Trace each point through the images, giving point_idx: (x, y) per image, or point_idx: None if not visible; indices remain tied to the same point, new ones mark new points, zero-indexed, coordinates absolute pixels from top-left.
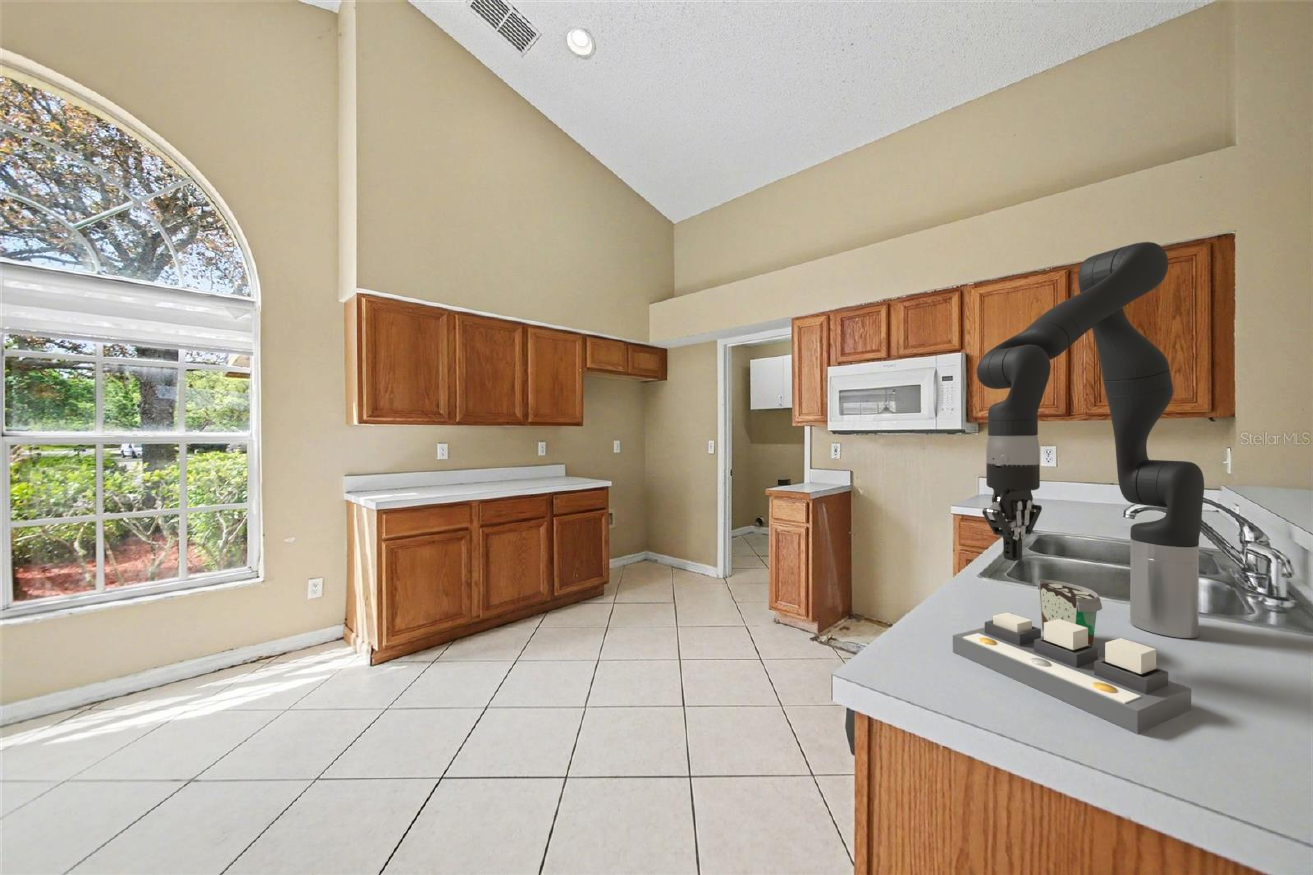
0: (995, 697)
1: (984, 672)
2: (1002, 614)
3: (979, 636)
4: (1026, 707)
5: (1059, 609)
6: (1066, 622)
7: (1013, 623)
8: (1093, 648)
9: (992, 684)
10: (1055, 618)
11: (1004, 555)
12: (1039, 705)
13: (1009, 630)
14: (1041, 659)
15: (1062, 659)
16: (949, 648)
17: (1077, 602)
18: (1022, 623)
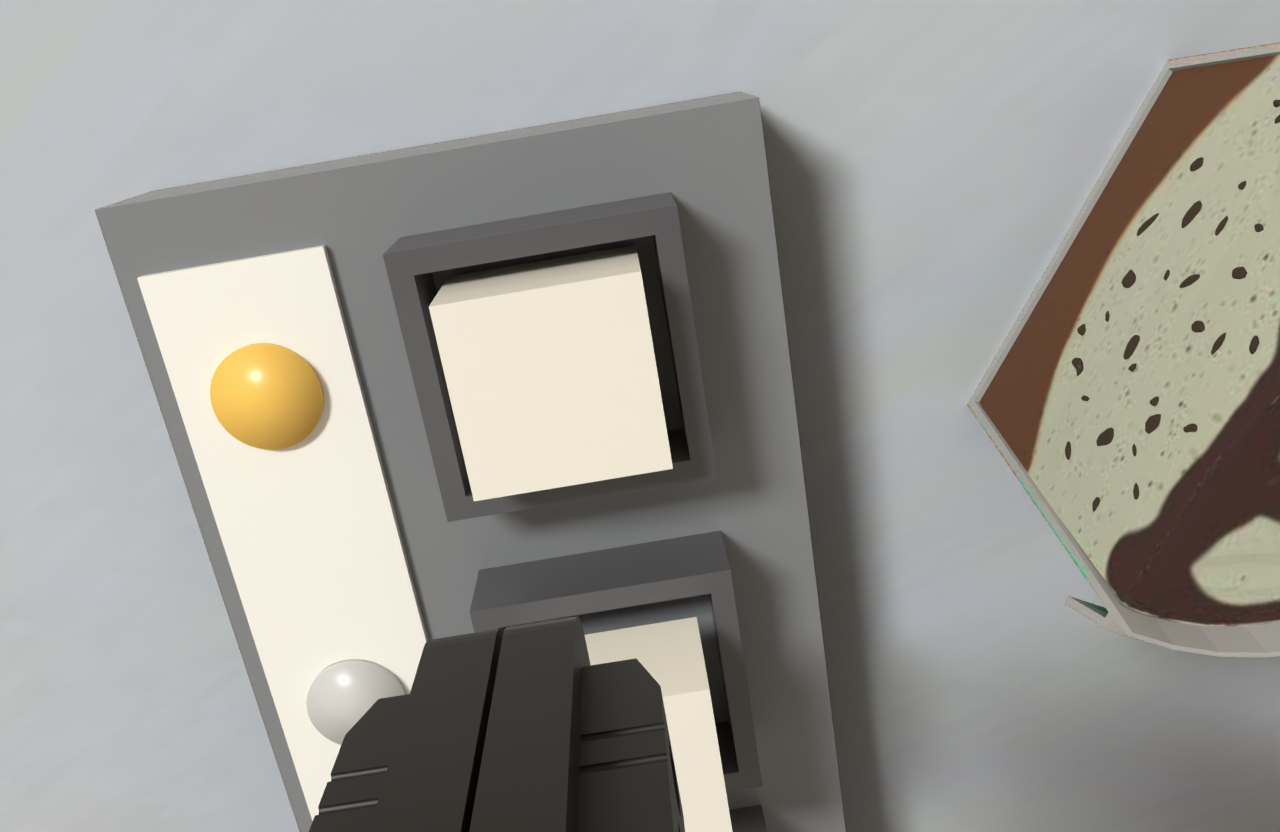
0: (8, 687)
1: (157, 472)
2: (544, 302)
3: (282, 301)
4: (98, 779)
5: (1185, 328)
6: (688, 755)
7: (467, 471)
8: (728, 783)
9: (96, 587)
10: (1165, 251)
11: (368, 721)
12: (179, 779)
13: (435, 448)
14: (385, 691)
15: None
16: (171, 131)
17: (1113, 622)
18: (544, 486)
